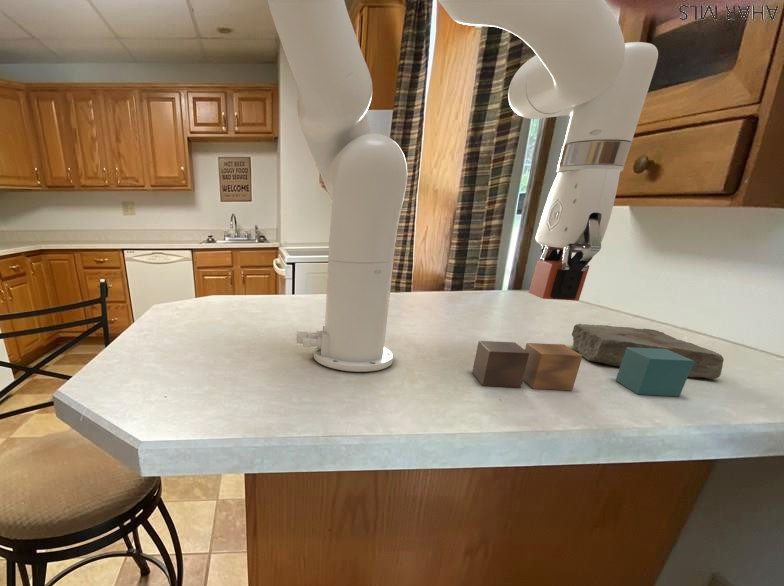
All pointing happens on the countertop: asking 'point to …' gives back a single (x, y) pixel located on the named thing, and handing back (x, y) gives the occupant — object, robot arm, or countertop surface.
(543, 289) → the terracotta block
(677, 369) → the teal block
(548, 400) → the countertop surface
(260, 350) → the countertop surface
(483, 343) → the walnut block
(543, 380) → the oak block
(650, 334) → the grey stone slab
